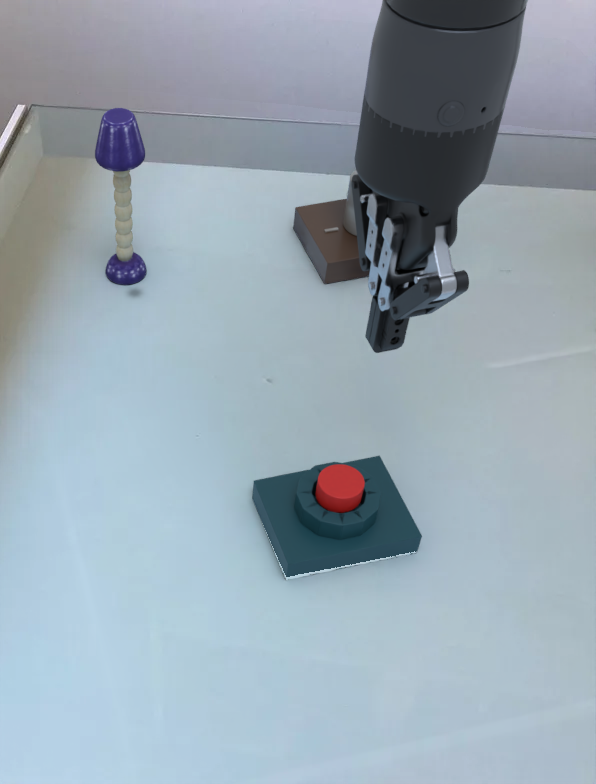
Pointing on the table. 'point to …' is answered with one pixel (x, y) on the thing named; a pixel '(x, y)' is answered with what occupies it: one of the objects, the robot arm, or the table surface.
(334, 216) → the dimmer panel
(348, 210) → the dimmer knob
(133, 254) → the toy lamp
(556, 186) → the table surface
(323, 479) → the light button
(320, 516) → the switch block
